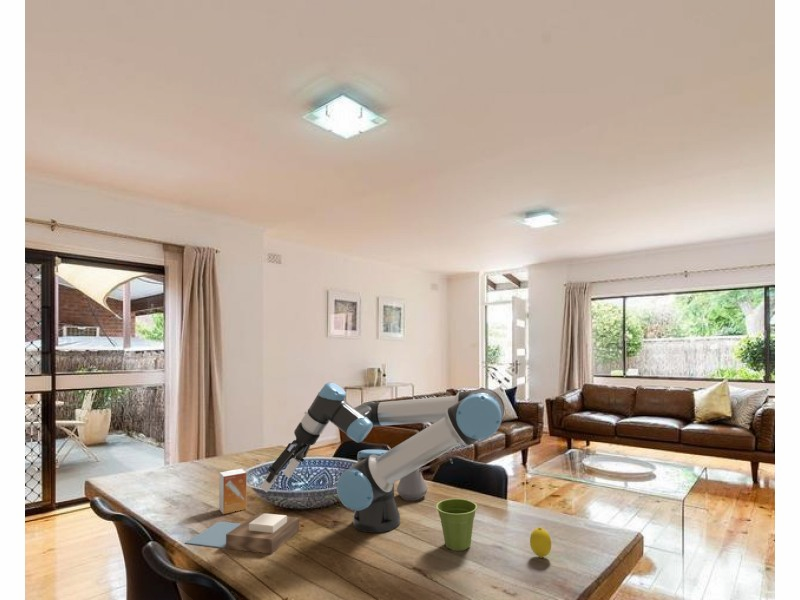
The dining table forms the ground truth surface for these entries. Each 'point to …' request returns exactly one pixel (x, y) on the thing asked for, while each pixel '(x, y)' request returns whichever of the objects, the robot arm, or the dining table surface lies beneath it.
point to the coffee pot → (415, 483)
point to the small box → (232, 491)
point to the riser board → (261, 536)
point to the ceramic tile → (268, 523)
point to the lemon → (540, 542)
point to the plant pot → (457, 522)
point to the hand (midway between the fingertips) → (275, 482)
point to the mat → (214, 535)
